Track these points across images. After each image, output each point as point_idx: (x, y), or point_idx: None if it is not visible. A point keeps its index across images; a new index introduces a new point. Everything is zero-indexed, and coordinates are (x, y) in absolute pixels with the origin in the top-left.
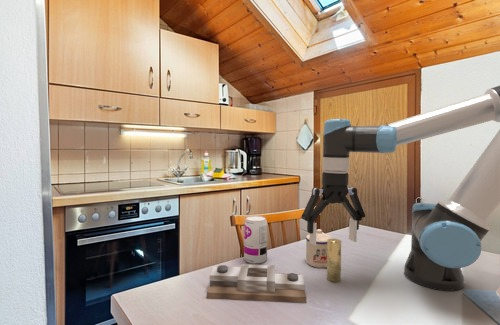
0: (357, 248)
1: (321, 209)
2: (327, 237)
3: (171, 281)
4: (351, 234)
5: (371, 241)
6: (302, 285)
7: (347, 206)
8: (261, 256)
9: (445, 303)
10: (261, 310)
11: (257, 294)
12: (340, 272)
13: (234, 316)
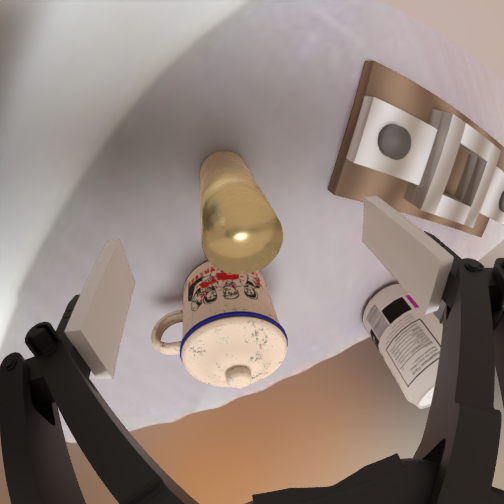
0: None
1: (474, 349)
2: (209, 346)
3: None
4: (121, 283)
5: None
6: (377, 99)
7: (143, 458)
8: (395, 296)
9: None
10: (453, 73)
11: (461, 115)
12: (207, 166)
13: (486, 78)
